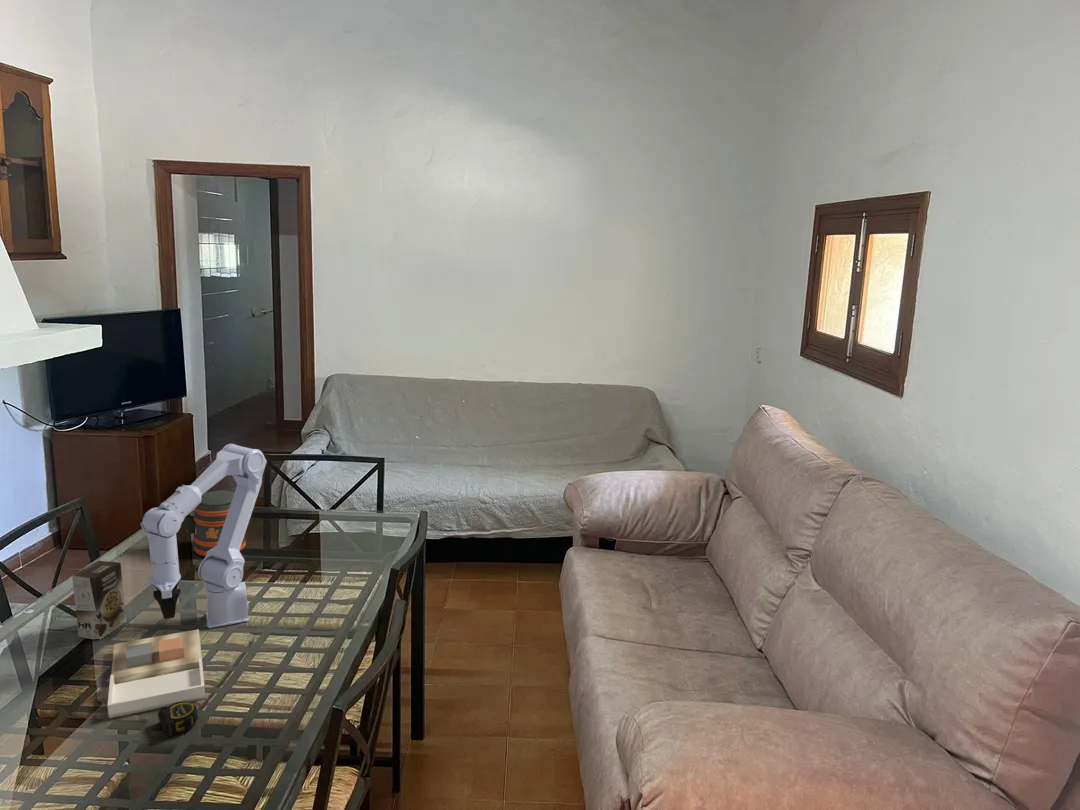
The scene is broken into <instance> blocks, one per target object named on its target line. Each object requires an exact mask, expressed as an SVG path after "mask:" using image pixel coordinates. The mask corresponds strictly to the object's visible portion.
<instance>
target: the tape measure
mask: <svg viewBox="0 0 1080 810" xmlns="http://www.w3.org/2000/svg"><path fill="white" fill-rule="evenodd" d="M198 713H199V712H198V708H197V706H196V705H195V704H194V703H193V702H192V701H191V702H187V701H181V702H176V703H174V704H171V705H170V706H167V707H162V708H160V709H159V711H158V712H157V717H158V720H159V722H160V724H161V725H162V729H163V734H164V735H166V736H167V737H171V736H173V735H175V734H176V733H182V732H185V731H188V730H189V729H191V728H192V727H193V726H194V725H196V723H197V721H198V718H199V717H198V716H199V714H198Z"/></svg>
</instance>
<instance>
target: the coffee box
mask: <svg viewBox="0 0 1080 810" xmlns="http://www.w3.org/2000/svg"><path fill="white" fill-rule="evenodd" d="M71 577H72V588H73V595H74V596H73V597H74V605H75V615H76V625H77V635H78V638H83V639H89V640H95V639H100V640H99V641H102V640H103V639H105V638H106V637H108V636H109V635H110V634H112V633H113V632H114V631H113V630H115V629H116V628H118V627H119V626H121V625H122V624H124V623H125V622H126V623H127V615H126V606H125V596H124V595H125V594H124V593H125V592H124V587H123V586H124V585H123V583H124V582H123V575H122V563H121V562H117V561H107V560H97V561H95V562H94V563H92V564H90V565H88V566H86V567H85V568H82V569H81V570H79V571H77V572H76V573H73V574H72V575H71ZM126 623H125V624H126ZM125 624H124V625H125ZM122 626H123V625H122ZM122 626H121V627H122ZM119 628H120V627H119ZM119 628H118V629H119ZM116 630H117V629H116ZM116 630H115V631H116ZM112 631H113V632H112ZM111 632H112V633H111ZM108 634H109V635H108ZM107 635H108V636H107ZM105 636H106V637H105ZM104 637H105V638H104ZM102 638H103V639H102ZM101 639H102V640H101Z"/></svg>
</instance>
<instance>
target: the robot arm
mask: <svg viewBox="0 0 1080 810" xmlns="http://www.w3.org/2000/svg"><path fill="white" fill-rule="evenodd" d="M215 457H216V458H215V460H214V461H212V463H211V464H209V466H208V467H207V468H205V470H204V471H203V472H202V473H200V475H199V476H198V477H197V478H196V479H195V480H194V481H193V482H192V483H191V484H190V485H189V484H188V485H185V484H184V486H182V487H181V486H178V487H177V488H176V489H175V492H174V493H172V495H171V496H169V497H168V498H167V499H166V500H164V501H163V502H161V503H160V505H159V506H158V507H152V508H150V509H149V510H148V511H147V512H145V513H144V515H143V518H142V521H141V522H140V526H141V528H142V530H143V531H144V532H145V533H146V538H147V539H148V546H149V559H150V568H151V576H150V577H147V578H146V584H148V585H150V584H151V585H152V586H154V587H155V589H156V590H154V591H152V592H153V593H152V596H153V598H154V600H155V601H156V602H157V603H158V606H159V608H160V610H161V611H160V612H161V614H162V616H163V619H164V620H167V619H168V620H169V619H174V618H175V616H176V609H177V601H178V598H179V597H180V594H181V588H178V586H179V584H180V582H181V579H182V576H181V573H180V563H179V553H178V542H177V541H178V540H177V533H178V532H179V531H180V529H181V527H182V523H183V521H184V518H185V517H186V516H187V515H190V514H191V513H192V511H194V510H195V508H196V507H197V506H198V505H199V504H200V503H201V496H202V495H203V494H204V493H205V492H209V490H210V489H211V488H212V487H214V486H215V485H216V484H218V483H220V481H221V480H223V479H224V478H225V477H227V476H232V477H233V479H234V481H235V483H236V487H235V490H234V496H233V499H232V502H231V505H230V508H229V511H228V514H227V517H226V520H225V523H224V526H223V529H222V532H221V535H220V538H219V541H218V543H217V546H215V547H214V548H212V549H210V550H209V551H207V554H206V556H204V558H203V560H202V561H201V562H200V564H199V566H198V570H197V575H198V578H199V579H200V581H202V582H203V586H204V587H205V593H206V607H207V611H206V612H205V618H206V626H207V629H213V628H218V627H224V626H229V625H234V624H239V623H246V622H249V602H248V595H247V587H246V582H245V581H242V580H243V577H244V565H245V562H246V561H245V558H244V557H243V555H242V553H241V551H239V550H240V547H241V544H242V541H243V538H244V535H246V531H247V528H248V526H249V523H250V519H251V517H252V514H253V510H254V508H255V504H256V502H257V498H258V495H259V492H260V489H261V486H262V484H263V474H264V472H265V468H266V465H267V462H268V461H267V459H266V458H265V457H266V456H265V455H264V453H263V452H262V450H260V449H256V448H250V447H246V446H241V445H238V444H235V443H228V444H225V446H224V447H222V449H221V450H220V451H218V452H217V453H216V456H215Z"/></svg>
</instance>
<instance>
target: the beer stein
mask: <svg viewBox="0 0 1080 810" xmlns="http://www.w3.org/2000/svg"><path fill="white" fill-rule="evenodd" d="M184 485H185V484H181V485H180V487H182V486H184ZM234 493H235V491H229V490H222V489H221V490H213V491H206V492H205V493H204V494H203V495H202V496H201V503H200V504H199V505H198V506H197V507H196V508H195V509H194V510H193V515H190V514H188V515H187V516H186V517H185V518H184V521H183V522H182V523H183V524H184V525H185V526H186V529H185V530H186V533H188V534H189V536H190V535H192V534H193V541H192V543H193V551H194V552H195V553H196V555H199V556H202V557H206V554H207V551H209V550H210V549H212V548H214V547H215V546H217V543H218V541H219V538H220V535H221V532H222V529H223V526H224V523H225V520H226V517H227V514H228V511H229V508H230V505H231V502H232V499H233V496H234ZM245 535H246V534H245ZM245 535H244V538H243V541H242V544H241V547H240V550H239V551H240V552H241V551H243V550H244V549H245V547H246V546H247V545H246V544H247V542H246V541H247V540H246V536H245Z"/></svg>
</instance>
